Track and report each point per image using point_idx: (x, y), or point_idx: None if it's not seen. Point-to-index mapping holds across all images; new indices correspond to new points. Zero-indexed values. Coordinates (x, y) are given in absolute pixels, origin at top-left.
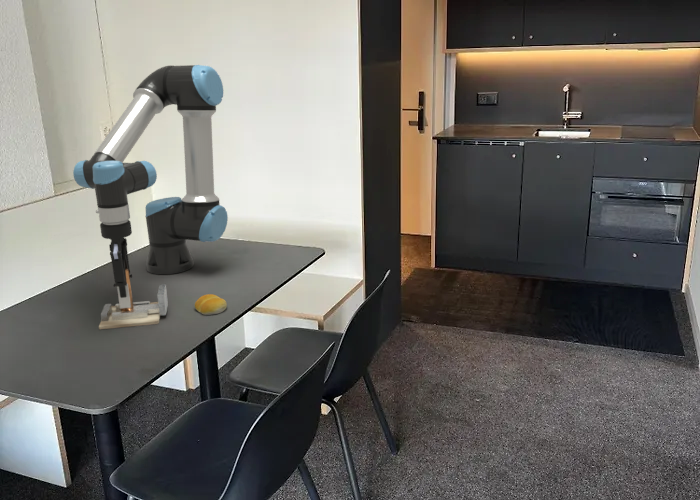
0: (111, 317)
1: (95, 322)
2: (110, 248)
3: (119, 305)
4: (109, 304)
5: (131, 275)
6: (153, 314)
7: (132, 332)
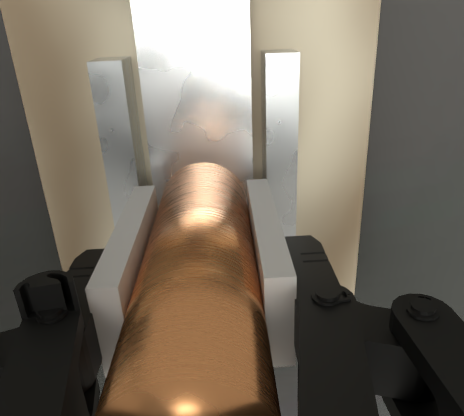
0: None
1: None
2: None
3: None
4: None
5: (42, 290)
6: (250, 12)
7: (453, 117)
